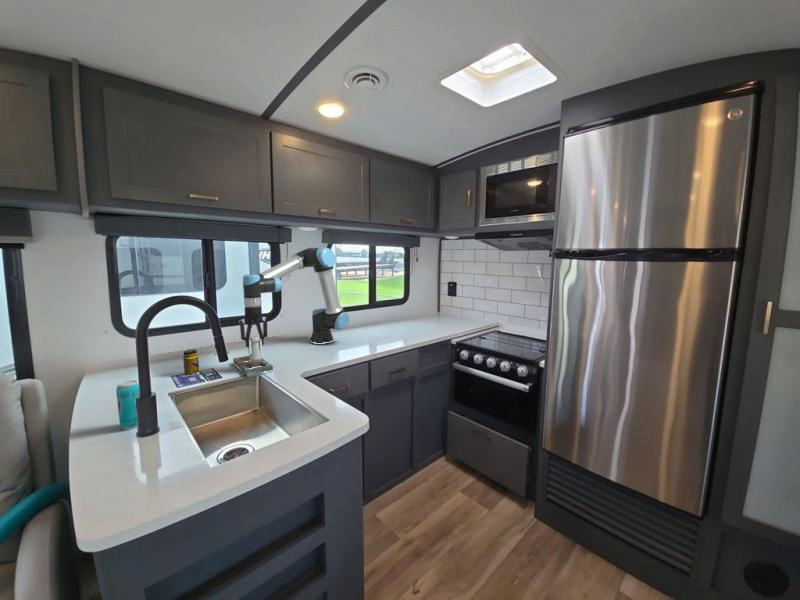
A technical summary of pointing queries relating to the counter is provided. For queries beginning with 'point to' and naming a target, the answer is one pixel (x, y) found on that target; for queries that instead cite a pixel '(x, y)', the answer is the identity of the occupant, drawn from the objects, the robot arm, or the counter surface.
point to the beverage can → (127, 403)
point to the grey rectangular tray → (255, 371)
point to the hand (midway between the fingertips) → (255, 352)
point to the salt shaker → (255, 350)
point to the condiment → (191, 362)
